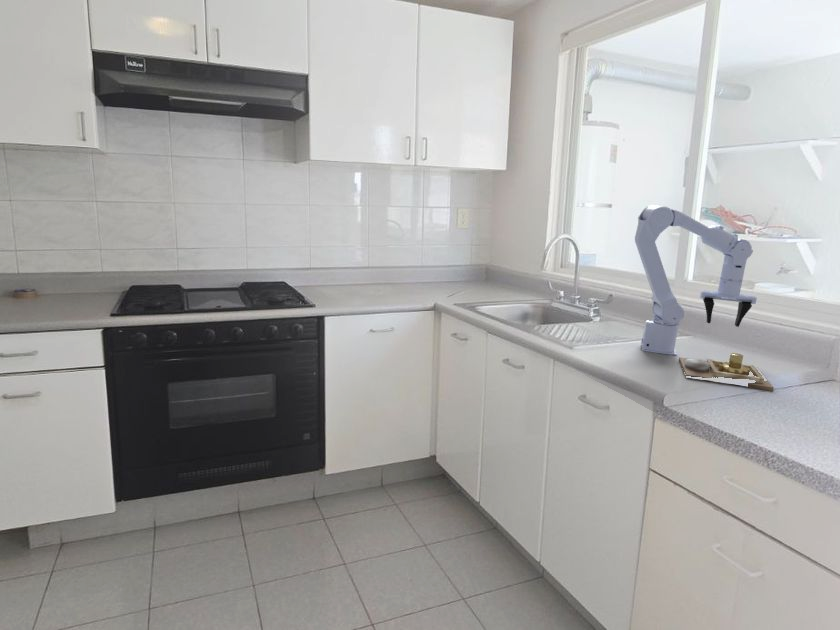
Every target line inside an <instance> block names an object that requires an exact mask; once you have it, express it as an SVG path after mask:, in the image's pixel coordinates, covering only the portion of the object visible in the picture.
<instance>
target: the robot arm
mask: <svg viewBox="0 0 840 630" xmlns="http://www.w3.org/2000/svg"><path fill="white" fill-rule="evenodd" d="M637 223H638V224H637V227H636V232H635V236H634V242H635V245H636V248H637V251H638V254H639V258H640V261H641V263H642V267H643V268H644V272H645V274H646V278H647V280H648V284H649V286H650V290H651V293H652V295H651V300H652V307H651V308H652V313H653V315H654V316H653V319H652V320H648V319H647V320H645V322H644V326H643V327H644V328H643V334H642V337H641V341H640V342H641V343H640V344H641V349H642V351H643V352H647V353H657V354H662V355H663V354H665V355H668V356H669V355H670V356H677V355H678V353H677V351H676V343H677V337H678V330H679V325H680V322H681V321H682V320H683V319H684V316H685V311H684V310H685V309H684V308H683V307H682V306H681V305H680V304H679V302H678V300H677V297H676V295H674V293H673V292H672V290H671V287H670V283H669V280H668V277H667V275H666V272H665V269H664V265H663V263H662V260H661V256H660V254H659V251H658V246H657V244H656V241H657V239H658V237H659V236H661V233H663V232H664V231H665V230H666V229H668V228H669V227H680V228H681V229H684V230H686V231H687V232H691V233H693V234H695V235H697V236H698V237H700V238H701V242H702V243H703V244H704V245H706V246H709V247H711V248H712V249H714V250H717V251H719V252H720V253H722V255H724V259H723V263H722V268H721V273H720V279H719V284H718V288H717V289H718V290H717V291H707V290H706V291H705V290H700V294H699V298H700V299H702V300H703V304H704V308H705V312H706V323H707V324H711V323H712V317H713V316H712V314H713V310H714V305H715V300H718V301H728V302H738V304H737V305H738V306H737V314H736V318H735V323H734V326H735V327H736V328H737V327H738V328H739V327H740V324H742V323H741V322H742V320H743V319H744V317H745V316H746V314H747V313H748V312H749V310H750V311H751V308H752V305H756V304H757V303H756V302H757V296H753V295H747V294H741V288H742V283H743V279H744V275H745V270H746V265H747V260H748V259H749V258H750V257H751V256H752V254H753V252H754V250H753V248H752V244H751V242H750V241H749V240H746V239H743V238H738V237H739V234H736V233H731V232H728V231H727V230H725V229H724V228H725V227H724V226H722V225H720V224H719V225H710V226H706V225H705V224H703V223H701V222H699V221H697V220H696V219H695V218H693V217H691V216H689V215H686V213H683V212H681V211H679V210H676V209H673V208H670V207H668V206H663V205H662V206H659V205H656V204H650V205H647V206H646V207H645V208H643V210H642V211H641V213H640V214H639V215H638V217H637Z"/></svg>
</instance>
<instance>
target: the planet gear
mask: <svg viewBox="0 0 840 630" xmlns="http://www.w3.org/2000/svg"><path fill="white" fill-rule="evenodd" d="M743 360H744V355H743V354H742V353H741V354H740V353H737V352H736V353H735V352H731V353H730V355H729V359H728V362H729V363H724V362H723V363H721V364H719V368H718V371H722V372H727V373H734V374H741V375H749V372H750V369H749V368H745V366H743V365H742V364H743Z"/></svg>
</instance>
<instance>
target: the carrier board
mask: <svg viewBox="0 0 840 630" xmlns="http://www.w3.org/2000/svg"><path fill="white" fill-rule="evenodd" d="M706 359H707V360H703V359H697V358H687V357H680V356H679V357H678V362H679V365H680V364H681V365H680V367H681V366H682V367H681V369H682V368H683V370H684V372H685V374H686V376H691V377H702V378H712V377H713V378H714V377H715V378H716V377H717V378H718V377H724V378H732V379H749V380H755V381H756V382H755V383H748V387H747V388H749V389H755V390H763V391H768V392H774V386H773V385H772V384H771V382H770V381H769V380H768V379H767V381H764V378H763V377H762V375H761V374H760V373H759V372H758V370H757V369H756V368H757V367H755V366H754V365H753V364H746V363H742V365H743V366H745V368H749V369H750V371H751V372H752V373H753V375H754V376H748V375H741V374H734V373H727V372H722V371H718V368H719V364H721V363H723V362H724V363H729V361H725V360H724V361H723V360H719V359H718V360H717V359H709V358H706ZM683 370H682V371H683ZM684 372H683V373H684ZM755 376H756V377H755Z"/></svg>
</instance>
